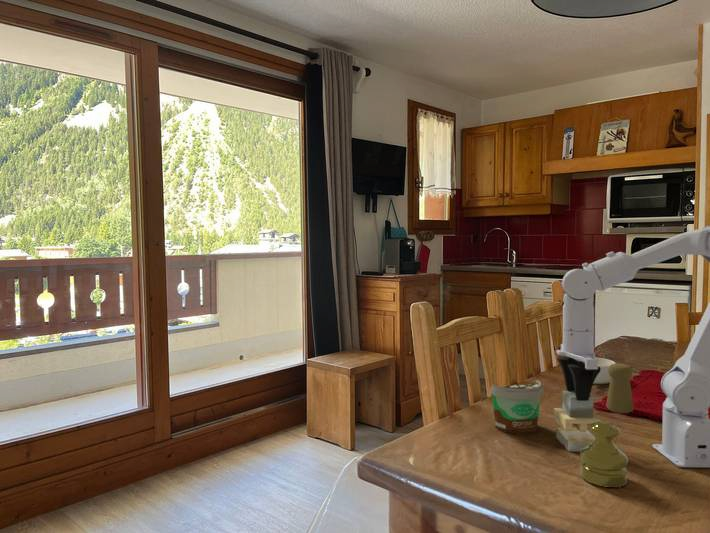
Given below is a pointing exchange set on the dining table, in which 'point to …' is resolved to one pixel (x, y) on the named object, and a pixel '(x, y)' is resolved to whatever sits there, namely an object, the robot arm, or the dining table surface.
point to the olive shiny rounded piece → (604, 457)
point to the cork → (620, 389)
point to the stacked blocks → (575, 413)
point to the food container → (517, 407)
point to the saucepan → (603, 371)
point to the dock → (574, 438)
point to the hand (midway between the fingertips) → (577, 396)
